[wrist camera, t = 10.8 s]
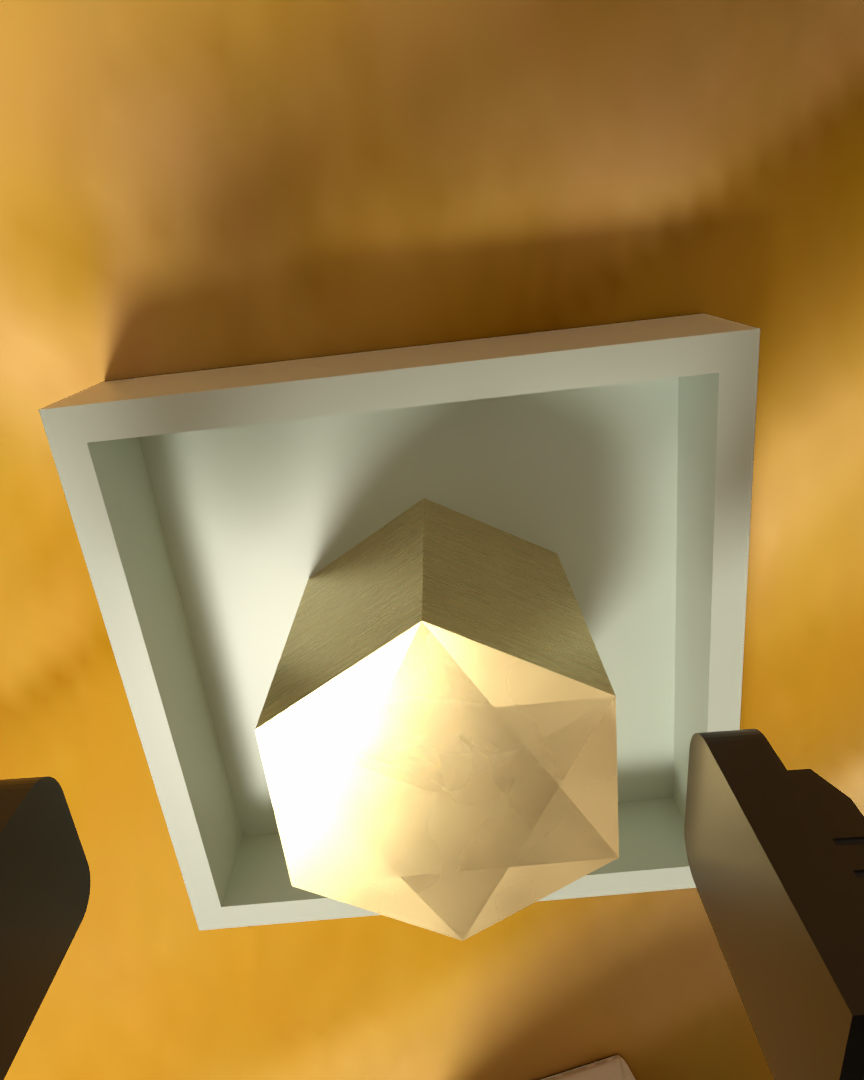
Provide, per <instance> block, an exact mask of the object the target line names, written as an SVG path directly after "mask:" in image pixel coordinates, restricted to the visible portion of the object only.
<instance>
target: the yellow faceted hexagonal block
mask: <svg viewBox="0 0 864 1080" xmlns="http://www.w3.org/2000/svg"><path fill="white" fill-rule="evenodd" d="M255 732H256V737H257V741H258V745H259V749H260V754H261V758H262V762H263V766H264V770H265V775H266V779H267V783H268V787H269V792H270V796H271V800H272V804H273V808H274V813H275V817H276V821H277V825H278V830H279V834H280V838H281V842H282V847H283V851H284V855H285V859H286V863H287V868H288V872H289V876H290V880H291V885H292V886H293V887H296V888H300V889H303V890H306V891H309V892H312V893H315V894H318V895H322V896H325V897H328V898H331V899H334V900H337V901H340V902H343V903H347V904H350V905H353V906H356V907H359V908H362V909H365V910H368V911H372V912H375V913H378V914H381V915H384V916H387V917H390V918H394V919H397V920H400V921H403V922H406V923H409V924H412V925H415V926H419V927H422V928H425V929H428V930H431V931H434V932H437V933H441V934H444V935H447V936H450V937H453V938H456V939H459V940H462V941H463V940H465V939H467V938H469V937H471V936H473V935H475V934H476V933H478V932H480V931H482V930H484V929H486V928H488V927H490V926H492V925H493V924H495V923H497V922H499V921H501V920H503V919H505V918H507V917H508V916H510V915H512V914H514V913H516V912H518V911H520V910H522V909H523V908H525V907H527V906H529V905H531V904H533V903H535V902H537V901H539V900H540V899H542V898H544V897H546V896H548V895H550V894H552V893H554V892H555V891H557V890H559V889H561V888H563V887H565V886H567V885H569V884H571V883H572V882H574V881H576V880H578V879H580V878H582V877H584V876H586V875H587V874H589V873H591V872H593V871H595V870H597V869H599V868H601V867H602V866H604V865H606V864H608V863H610V862H612V861H614V860H616V859H618V858H619V830H618V781H617V731H616V695H615V693H614V690H613V688H612V686H611V683H610V681H609V678H608V676H607V673H606V671H605V669H604V666H603V664H602V661H601V659H600V656H599V654H598V651H597V649H596V647H595V644H594V642H593V639H592V637H591V634H590V632H589V630H588V627H587V625H586V622H585V620H584V617H583V615H582V613H581V610H580V608H579V605H578V603H577V600H576V598H575V595H574V593H573V591H572V588H571V586H570V583H569V581H568V578H567V576H566V574H565V571H564V569H563V566H562V564H561V561H560V559H559V556H558V554H557V553H555V552H553V551H550V550H548V549H545V548H543V547H541V546H538V545H536V544H533V543H531V542H529V541H526V540H524V539H521V538H519V537H517V536H514V535H512V534H509V533H507V532H505V531H502V530H500V529H497V528H495V527H492V526H490V525H488V524H485V523H483V522H480V521H478V520H476V519H473V518H471V517H468V516H466V515H464V514H461V513H459V512H456V511H454V510H452V509H449V508H447V507H444V506H442V505H440V504H437V503H435V502H432V501H430V500H428V499H425V498H423V499H422V500H420V501H419V502H417V503H416V504H415V505H413V506H412V507H410V508H409V509H407V510H406V511H405V512H403V513H402V514H400V515H399V516H397V517H396V518H395V519H393V520H392V521H390V522H389V523H387V524H386V525H385V526H383V527H382V528H380V529H379V530H377V531H376V532H375V533H373V534H372V535H370V536H369V537H367V538H366V539H365V540H363V541H362V542H360V543H359V544H357V545H356V546H354V547H353V548H352V549H350V550H349V551H347V552H346V553H344V554H343V555H342V556H340V557H339V558H337V559H336V560H334V561H333V562H332V563H330V564H329V565H327V566H326V567H324V568H323V569H322V570H320V571H319V572H317V573H316V574H314V575H313V576H312V577H310V578H309V579H308V581H307V584H306V587H305V590H304V593H303V595H302V598H301V601H300V604H299V607H298V610H297V612H296V615H295V618H294V621H293V624H292V627H291V629H290V632H289V635H288V638H287V641H286V644H285V646H284V649H283V652H282V655H281V658H280V661H279V663H278V666H277V669H276V672H275V675H274V678H273V680H272V683H271V686H270V689H269V692H268V695H267V697H266V700H265V703H264V706H263V709H262V711H261V714H260V717H259V720H258V723H257V726H256V728H255Z"/></svg>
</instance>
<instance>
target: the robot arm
mask: <svg viewBox="0 0 864 1080" xmlns="http://www.w3.org/2000/svg"><path fill="white" fill-rule="evenodd" d="M684 834H685V846H686V852H687V858H688V863H689V867H690V871H691V874H692V877H693V880H694V883H695V885H696V888H697V890H698V893H699V895H700V898H701V900H702V903H703V905H704V908H705V910H706V913H707V915H708V917H709V920H710V922H711V925H712V927H713V930H714V932H715V935H716V937H717V940H718V942H719V945H720V947H721V950H722V952H723V955H724V957H725V959H726V962H727V964H728V967H729V969H730V972H731V974H732V977H733V979H734V982H735V984H736V987H737V989H738V992H739V994H740V996H741V999H742V1001H743V1004H744V1006H745V1009H746V1011H747V1014H748V1016H749V1019H750V1021H751V1024H752V1026H753V1029H754V1031H755V1033H756V1036H757V1038H758V1041H759V1043H760V1046H761V1048H762V1051H763V1053H764V1056H765V1058H766V1061H767V1063H768V1066H769V1068H770V1071H771V1073H772V1075H773V1078H774V1080H864V816H863V815H862V814H861V812H860V811H859V809H858V808H857V807H856V805H855V804H854V803H853V801H852V800H851V799H850V798H849V797H848V796H846V795H845V794H844V793H842V792H841V791H839V790H838V789H837V788H835V787H834V786H833V785H831V784H830V783H829V782H827V781H826V780H825V779H823V778H822V777H820V776H819V775H818V774H816V773H815V772H814V771H812V770H811V769H802V770H788V771H787V769H786V768H785V766H784V765H783V763H782V762H781V760H780V759H779V757H778V756H777V754H776V753H775V751H774V750H773V748H772V747H771V745H770V744H769V742H768V741H767V739H766V738H765V736H764V735H763V734H762V733H761V732H760V731H759V730H757V729H746V730H731V731H717V732H703V733H695V734H694V735H693V736H692V738H691V742H690V748H689V763H688V778H687V794H686V809H685V824H684ZM89 894H90V871H89V866H88V863H87V860H86V857H85V854H84V851H83V848H82V845H81V842H80V840H79V837H78V834H77V831H76V828H75V825H74V822H73V819H72V817H71V814H70V811H69V808H68V805H67V802H66V799H65V796H64V794H63V791H62V788H61V786H60V785H59V783H58V782H57V781H56V780H55V779H54V778H52V777H35V778H21V779H6V780H0V1080H4V1078H5V1076H6V1074H7V1072H8V1070H9V1068H10V1066H11V1064H12V1062H13V1060H14V1058H15V1056H16V1054H17V1052H18V1050H19V1047H20V1045H21V1043H22V1041H23V1039H24V1037H25V1035H26V1033H27V1031H28V1029H29V1027H30V1025H31V1023H32V1021H33V1019H34V1017H35V1015H36V1013H37V1011H38V1009H39V1007H40V1005H41V1003H42V1001H43V999H44V997H45V995H46V993H47V991H48V989H49V987H50V985H51V983H52V981H53V979H54V977H55V975H56V972H57V970H58V968H59V966H60V964H61V962H62V960H63V958H64V956H65V954H66V952H67V950H68V948H69V946H70V944H71V942H72V940H73V938H74V936H75V934H76V932H77V930H78V928H79V926H80V924H81V922H82V919H83V917H84V915H85V912H86V908H87V904H88V900H89Z"/></svg>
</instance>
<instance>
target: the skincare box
mask: <svg viewBox="0 0 864 1080" xmlns="http://www.w3.org/2000/svg"><path fill="white" fill-rule="evenodd" d="M541 1080H636V1079H635V1078H634V1076H633V1074H632V1072H631V1070H630V1068H629V1067H628V1065H627V1063H626V1062H625V1060H624V1059H623V1058H622V1057H620V1056H619V1055H616V1056H612V1057H609V1058H606V1059H603V1060H600V1061H597V1062H594V1063H591V1064H588V1065H585V1066H581V1067H578V1068H575V1069H572V1070H569V1071H566V1072H563V1073H559V1074H556V1075H553V1076H550V1077H547V1078H544V1079H541Z"/></svg>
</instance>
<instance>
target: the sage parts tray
mask: <svg viewBox="0 0 864 1080" xmlns="http://www.w3.org/2000/svg"><path fill="white" fill-rule="evenodd" d="M759 343H760V328H757V327H753V326H749V325H746V324H742V323H738V322H734V321H731V320H727V319H723V318H720V317H716V316H712V315H708V314H705V313H702V314H693V315H684V316H675V317H667V318H658V319H649V320H640V321H632V322H623V323H614V324H605V325H596V326H588V327H579V328H570V329H561V330H552V331H544V332H535V333H526V334H517V335H508V336H500V337H491V338H482V339H473V340H465V341H456V342H447V343H438V344H429V345H421V346H412V347H403V348H394V349H385V350H377V351H368V352H359V353H350V354H341V355H333V356H324V357H315V358H306V359H298V360H289V361H280V362H271V363H262V364H254V365H245V366H236V367H227V368H218V369H210V370H201V371H192V372H183V373H174V374H166V375H157V376H148V377H139V378H131V379H122V380H113V381H104V382H101V383H99V384H96V385H94V386H92V387H90V388H87V389H85V390H83V391H80V392H78V393H76V394H74V395H71V396H69V397H67V398H64V399H62V400H60V401H58V402H55V403H53V404H51V405H49V406H46V407H44V408H42V409H39V412H40V415H41V419H42V422H43V425H44V428H45V432H46V435H47V438H48V441H49V445H50V448H51V451H52V454H53V458H54V461H55V464H56V467H57V471H58V474H59V477H60V480H61V484H62V487H63V490H64V493H65V496H66V500H67V503H68V506H69V509H70V513H71V516H72V519H73V522H74V526H75V529H76V532H77V535H78V539H79V542H80V545H81V548H82V552H83V555H84V558H85V561H86V565H87V568H88V571H89V574H90V578H91V581H92V584H93V587H94V590H95V594H96V597H97V600H98V603H99V607H100V610H101V613H102V616H103V620H104V623H105V626H106V629H107V633H108V636H109V639H110V642H111V646H112V649H113V652H114V655H115V659H116V662H117V665H118V668H119V671H120V675H121V678H122V681H123V684H124V688H125V691H126V694H127V697H128V701H129V704H130V707H131V710H132V714H133V717H134V720H135V723H136V727H137V730H138V733H139V736H140V740H141V743H142V746H143V749H144V753H145V756H146V759H147V762H148V765H149V769H150V772H151V775H152V778H153V782H154V785H155V788H156V791H157V795H158V798H159V801H160V804H161V808H162V811H163V814H164V817H165V821H166V824H167V827H168V830H169V834H170V837H171V840H172V843H173V846H174V850H175V853H176V856H177V859H178V863H179V866H180V869H181V872H182V876H183V879H184V882H185V885H186V889H187V892H188V895H189V898H190V902H191V905H192V908H193V911H194V915H195V918H196V921H197V924H198V928H199V930H210V929H222V928H233V927H245V926H257V925H268V924H280V923H292V922H303V921H315V920H327V919H338V918H350V917H361V916H373V915H381V914H378V913H375V912H372V911H368V910H365V909H362V908H359V907H356V906H353V905H350V904H347V903H343V902H340V901H337V900H334V899H331V898H328V897H325V896H322V895H318V894H315V893H312V892H309V891H306V890H303V889H300V888H296V887H293V886H292V885H291V880H290V876H289V872H288V868H287V863H286V859H285V855H284V851H283V847H282V842H281V838H280V834H279V830H278V825H277V821H276V817H275V813H274V808H273V804H272V800H271V796H270V792H269V787H268V783H267V779H266V775H265V770H264V766H263V762H262V758H261V754H260V749H259V745H258V741H257V737H256V732H255V728H256V726H257V723H258V720H259V717H260V714H261V711H262V709H263V706H264V703H265V700H266V697H267V695H268V692H269V689H270V686H271V683H272V680H273V678H274V675H275V672H276V669H277V666H278V663H279V661H280V658H281V655H282V652H283V649H284V646H285V644H286V641H287V638H288V635H289V632H290V629H291V627H292V624H293V621H294V618H295V615H296V612H297V610H298V607H299V604H300V601H301V598H302V595H303V593H304V590H305V587H306V584H307V581H308V579H309V578H310V577H312V576H313V575H314V574H316V573H317V572H319V571H320V570H322V569H323V568H324V567H326V566H327V565H329V564H330V563H332V562H333V561H334V560H336V559H337V558H339V557H340V556H342V555H343V554H344V553H346V552H347V551H349V550H350V549H352V548H353V547H354V546H356V545H357V544H359V543H360V542H362V541H363V540H365V539H366V538H367V537H369V536H370V535H372V534H373V533H375V532H376V531H377V530H379V529H380V528H382V527H383V526H385V525H386V524H387V523H389V522H390V521H392V520H393V519H395V518H396V517H397V516H399V515H400V514H402V513H403V512H405V511H406V510H407V509H409V508H410V507H412V506H413V505H415V504H416V503H417V502H419V501H420V500H422V499H423V498H425V499H428V500H430V501H432V502H435V503H437V504H440V505H442V506H444V507H447V508H449V509H452V510H454V511H456V512H459V513H461V514H464V515H466V516H468V517H471V518H473V519H476V520H478V521H480V522H483V523H485V524H488V525H490V526H492V527H495V528H497V529H500V530H502V531H505V532H507V533H509V534H512V535H514V536H517V537H519V538H521V539H524V540H526V541H529V542H531V543H533V544H536V545H538V546H541V547H543V548H545V549H548V550H550V551H553V552H555V553H557V554H558V556H559V559H560V561H561V564H562V566H563V569H564V571H565V574H566V576H567V578H568V581H569V583H570V586H571V588H572V591H573V593H574V595H575V598H576V600H577V603H578V605H579V608H580V610H581V613H582V615H583V617H584V620H585V622H586V625H587V627H588V630H589V632H590V634H591V637H592V639H593V642H594V644H595V647H596V649H597V651H598V654H599V656H600V659H601V661H602V664H603V666H604V669H605V671H606V673H607V676H608V678H609V681H610V683H611V686H612V688H613V690H614V693H615V695H616V731H617V781H618V830H619V858H618V859H616V860H614V861H612V862H610V863H608V864H606V865H604V866H602V867H601V868H599V869H597V870H595V871H593V872H591V873H589V874H587V875H586V876H584V877H582V878H580V879H578V880H576V881H574V882H572V883H571V884H569V885H567V886H565V887H563V888H561V889H559V890H557V891H555V892H554V893H552V894H550V895H548V896H546V897H544V898H542V899H540V900H539V901H548V900H559V899H571V898H582V897H594V896H606V895H617V894H629V893H641V892H652V891H664V890H675V889H687V888H696V885H695V883H694V880H693V877H692V874H691V871H690V867H689V863H688V858H687V852H686V846H685V834H684V824H685V809H686V794H687V778H688V763H689V748H690V742H691V738H692V736H693V735H694V734H695V733H703V732H717V731H731V730H740V712H741V693H742V673H743V654H744V635H745V615H746V596H747V576H748V557H749V537H750V518H751V499H752V479H753V460H754V440H755V421H756V401H757V382H758V363H759Z"/></svg>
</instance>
